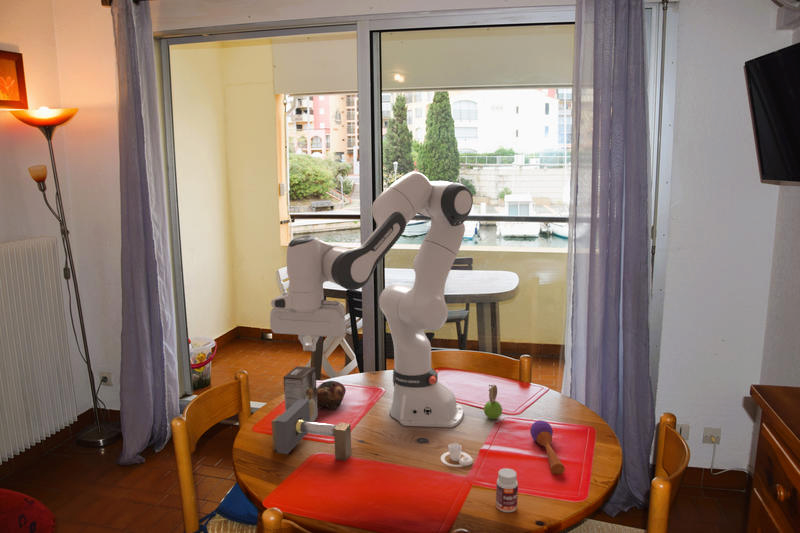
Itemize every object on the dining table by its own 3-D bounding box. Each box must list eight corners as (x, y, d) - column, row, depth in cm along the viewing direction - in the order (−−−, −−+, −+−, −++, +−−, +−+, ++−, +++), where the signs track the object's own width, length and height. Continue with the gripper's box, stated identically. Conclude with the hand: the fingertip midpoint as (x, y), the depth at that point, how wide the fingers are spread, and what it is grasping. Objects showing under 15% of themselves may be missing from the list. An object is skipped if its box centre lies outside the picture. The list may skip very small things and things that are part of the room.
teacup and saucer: (477, 467, 150) (477, 452, 149) (448, 472, 147) (448, 457, 147) (464, 450, 158) (464, 436, 157) (436, 455, 156) (436, 441, 155)
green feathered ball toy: (480, 422, 173) (481, 383, 171) (486, 413, 179) (486, 376, 177) (499, 424, 171) (499, 386, 169) (503, 415, 177) (504, 378, 175)
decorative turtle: (307, 414, 180) (305, 389, 179) (324, 397, 194) (323, 374, 193) (336, 415, 177) (335, 390, 176) (352, 398, 192) (350, 375, 191)
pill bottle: (504, 515, 129) (504, 480, 128) (491, 503, 133) (492, 470, 132) (521, 509, 131) (522, 475, 130) (509, 498, 135) (509, 465, 134)
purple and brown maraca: (544, 461, 144) (526, 418, 163) (547, 481, 146) (529, 437, 165) (568, 456, 144) (548, 414, 163) (571, 477, 145) (551, 433, 165)
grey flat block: (310, 429, 165) (309, 399, 163) (287, 454, 151) (285, 421, 150) (300, 428, 165) (299, 398, 164) (277, 452, 152) (275, 420, 150)
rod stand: (351, 453, 156) (350, 423, 155) (345, 460, 153) (344, 430, 151) (280, 443, 162) (278, 414, 161) (273, 450, 159) (271, 420, 157)
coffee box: (299, 414, 180) (296, 365, 176) (318, 417, 178) (316, 367, 175) (285, 428, 171) (282, 376, 168) (306, 430, 169) (303, 378, 166)
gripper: (348, 298, 151) (351, 348, 154) (276, 294, 156) (280, 343, 159) (339, 304, 145) (342, 357, 148) (265, 300, 150) (269, 352, 153)
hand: (309, 350), depth 154 cm, fingers closed
